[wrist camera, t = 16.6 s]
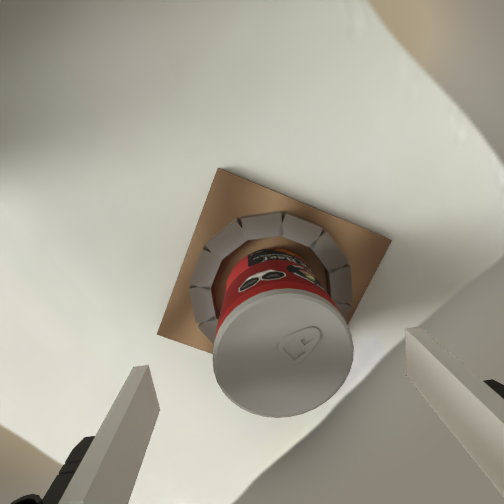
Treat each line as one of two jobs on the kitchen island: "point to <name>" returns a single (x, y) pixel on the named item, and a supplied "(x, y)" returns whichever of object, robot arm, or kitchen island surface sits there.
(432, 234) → the kitchen island surface
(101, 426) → the robot arm
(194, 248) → the socket board
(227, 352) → the canned food
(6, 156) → the kitchen island surface
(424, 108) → the kitchen island surface
